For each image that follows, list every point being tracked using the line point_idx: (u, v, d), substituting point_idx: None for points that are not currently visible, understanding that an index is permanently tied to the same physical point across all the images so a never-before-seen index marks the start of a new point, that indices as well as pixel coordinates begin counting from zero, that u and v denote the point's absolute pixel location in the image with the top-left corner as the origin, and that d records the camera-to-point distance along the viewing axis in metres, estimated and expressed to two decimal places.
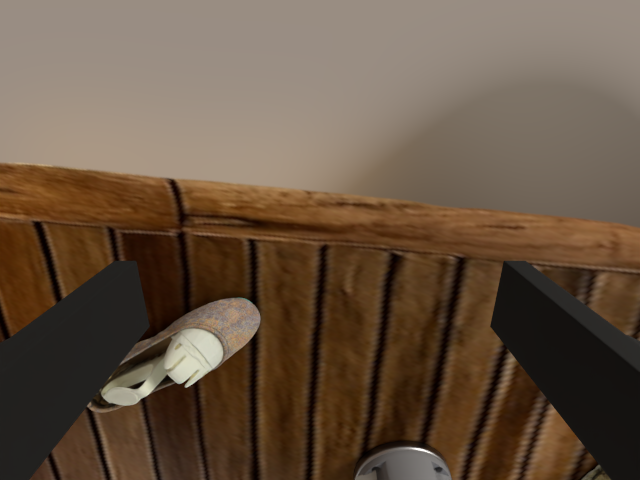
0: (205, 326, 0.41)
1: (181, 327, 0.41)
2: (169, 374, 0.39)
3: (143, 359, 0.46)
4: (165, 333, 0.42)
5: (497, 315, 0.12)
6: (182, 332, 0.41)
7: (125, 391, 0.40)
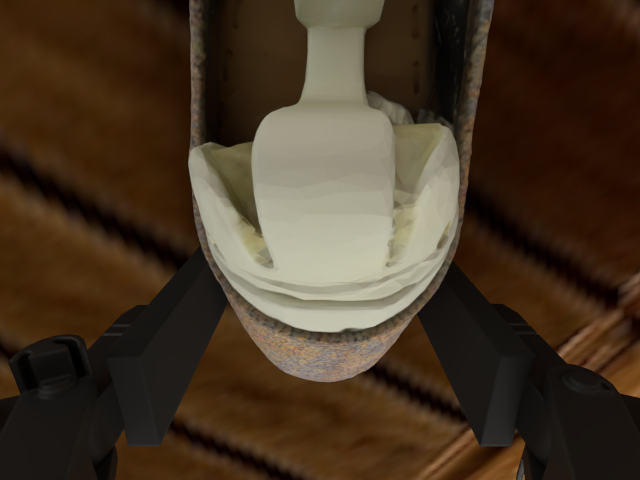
0: (407, 320, 0.10)
1: (459, 226, 0.09)
2: (377, 163, 0.05)
3: None
4: None
5: None
6: None
7: None
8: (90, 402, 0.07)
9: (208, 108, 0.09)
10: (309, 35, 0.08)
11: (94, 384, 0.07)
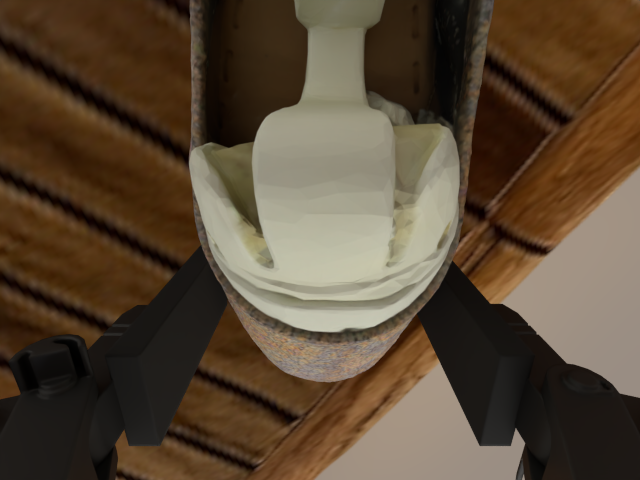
0: (407, 320, 0.10)
1: (459, 226, 0.09)
2: (377, 164, 0.05)
3: None
4: None
5: None
6: None
7: None
8: (90, 402, 0.07)
9: (208, 108, 0.09)
10: (309, 36, 0.08)
11: (94, 384, 0.07)
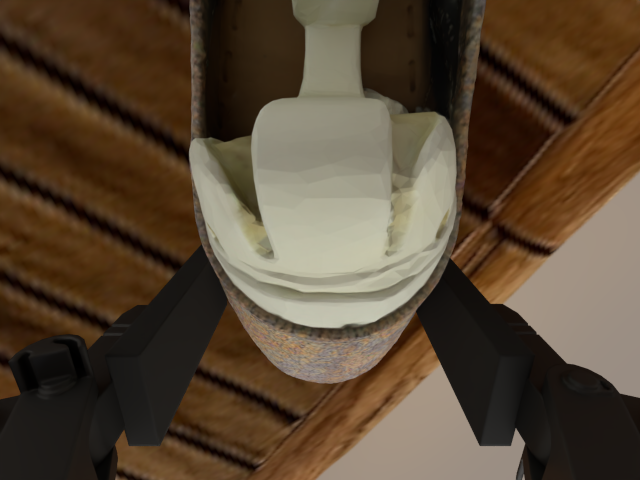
0: (408, 315, 0.10)
1: (458, 220, 0.09)
2: (374, 147, 0.05)
3: None
4: None
5: None
6: None
7: None
8: (90, 402, 0.07)
9: (208, 107, 0.09)
10: (307, 33, 0.08)
11: (94, 384, 0.07)
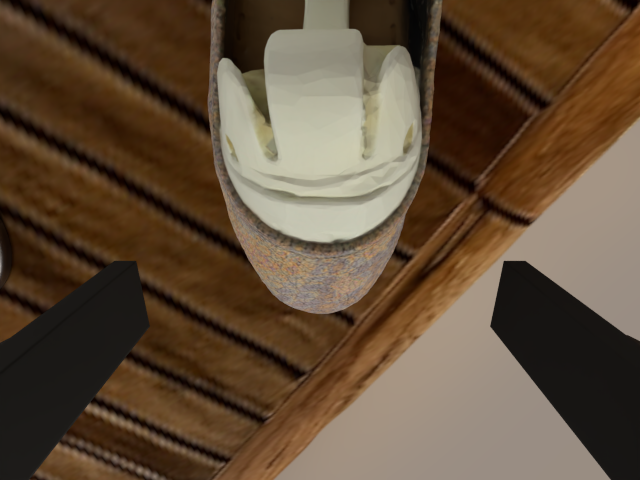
0: (386, 233, 0.12)
1: (426, 152, 0.11)
2: (350, 57, 0.07)
3: None
4: None
5: (496, 314, 0.12)
6: (419, 153, 0.11)
7: None
8: None
9: (225, 57, 0.11)
10: None
11: None
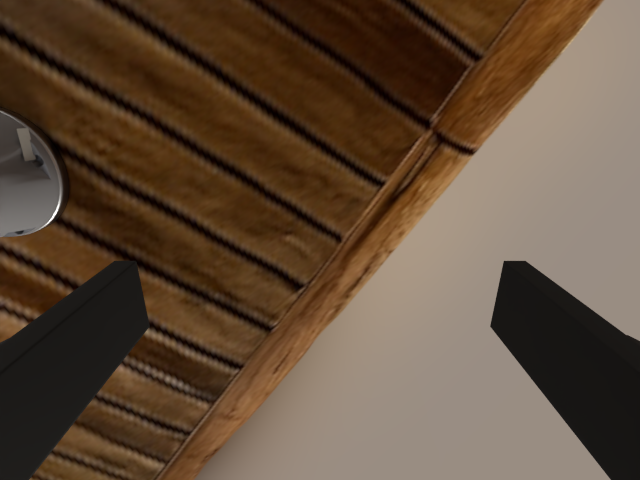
0: None
1: None
2: None
3: None
4: None
5: (497, 314, 0.12)
6: None
7: None
8: None
9: None
10: None
11: None
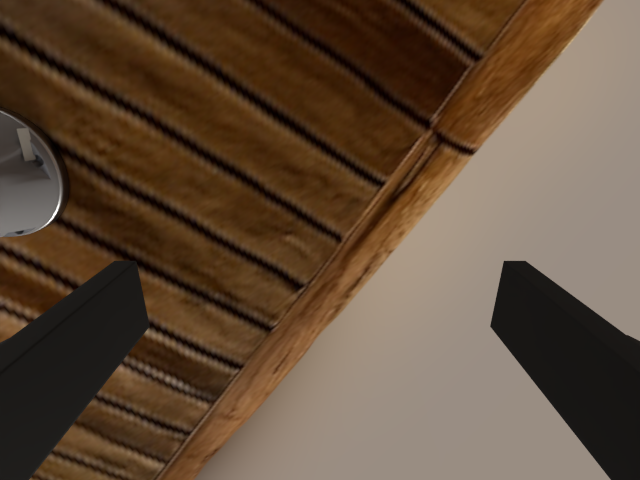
0: None
1: None
2: None
3: None
4: None
5: (497, 314, 0.12)
6: None
7: None
8: None
9: None
10: None
11: None
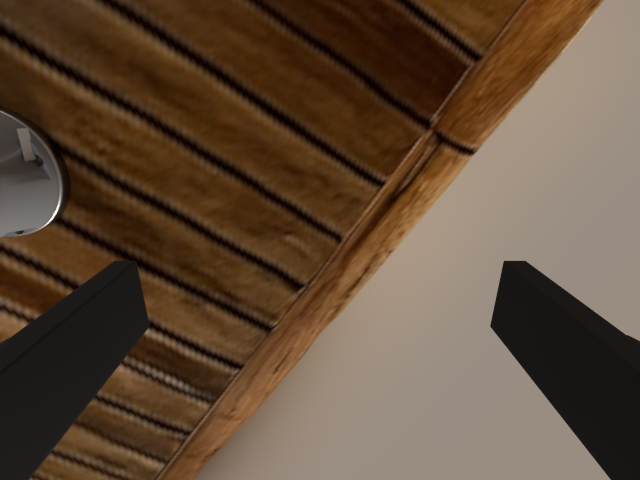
0: None
1: None
2: None
3: None
4: None
5: (497, 314, 0.12)
6: None
7: None
8: None
9: None
10: None
11: None
